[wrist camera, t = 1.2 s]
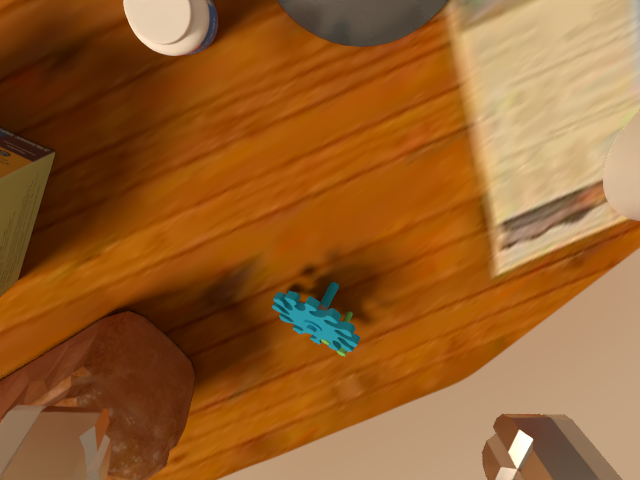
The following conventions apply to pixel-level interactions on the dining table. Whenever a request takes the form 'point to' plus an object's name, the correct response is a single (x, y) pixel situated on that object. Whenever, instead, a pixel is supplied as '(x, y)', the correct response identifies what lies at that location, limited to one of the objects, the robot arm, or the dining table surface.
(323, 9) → the carrier plate
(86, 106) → the dining table surface
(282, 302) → the gear
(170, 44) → the pill bottle
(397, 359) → the dining table surface
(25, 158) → the protein box
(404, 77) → the dining table surface
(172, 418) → the bread
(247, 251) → the dining table surface
